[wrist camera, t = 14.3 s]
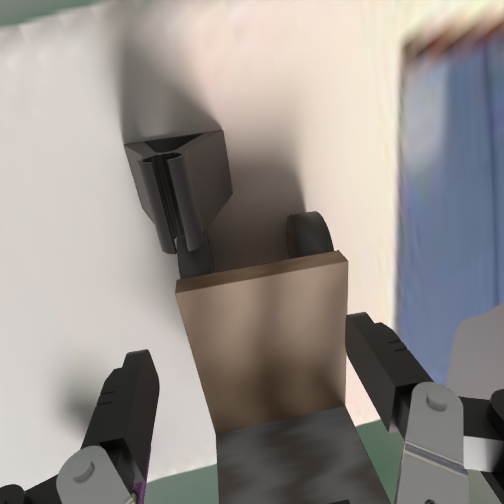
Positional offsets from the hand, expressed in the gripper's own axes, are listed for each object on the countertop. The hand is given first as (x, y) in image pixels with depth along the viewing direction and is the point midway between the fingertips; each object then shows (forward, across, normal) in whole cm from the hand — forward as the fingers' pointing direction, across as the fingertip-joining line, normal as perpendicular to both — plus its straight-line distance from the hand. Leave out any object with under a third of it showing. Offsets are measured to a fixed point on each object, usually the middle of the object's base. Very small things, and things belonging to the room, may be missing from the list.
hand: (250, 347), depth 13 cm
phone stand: (+22, +4, -3) cm, 22 cm away
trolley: (+22, -2, +13) cm, 25 cm away
